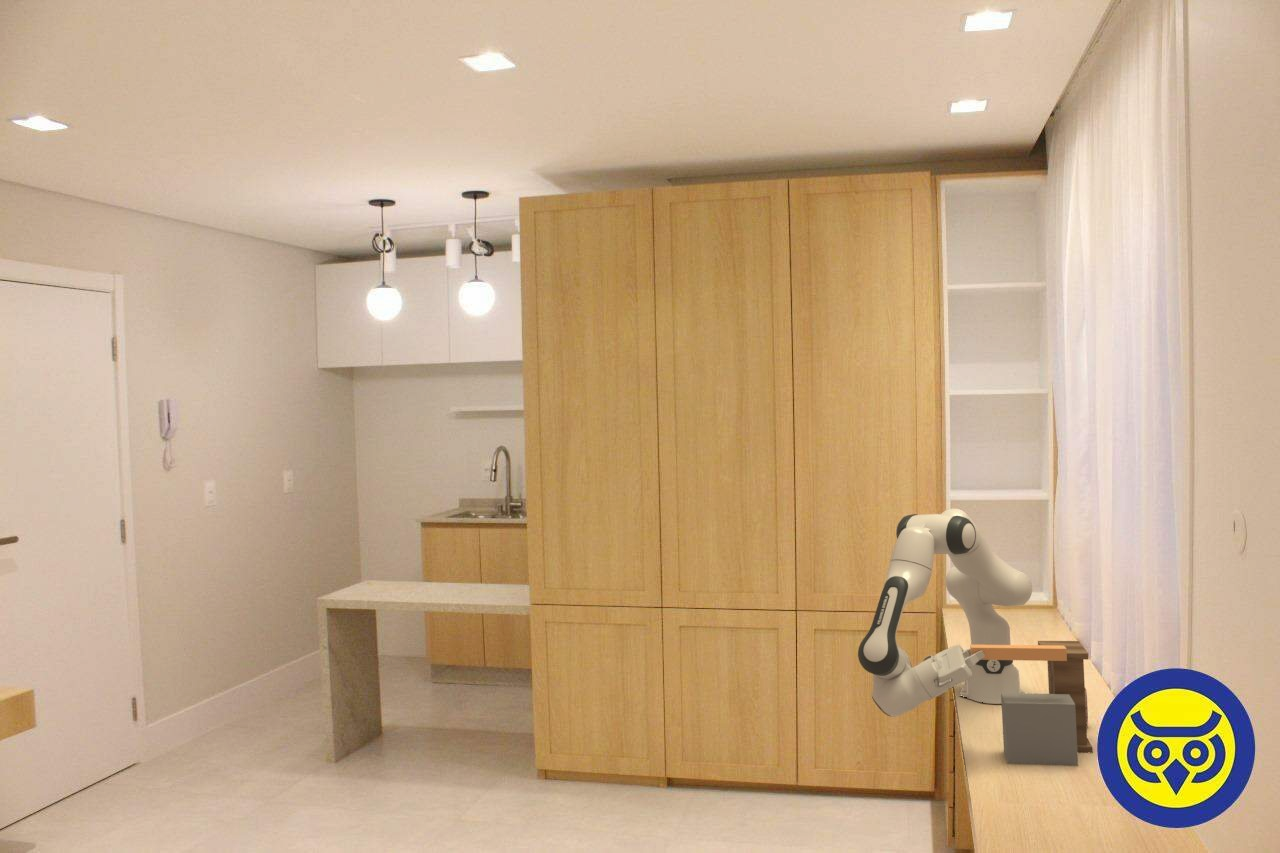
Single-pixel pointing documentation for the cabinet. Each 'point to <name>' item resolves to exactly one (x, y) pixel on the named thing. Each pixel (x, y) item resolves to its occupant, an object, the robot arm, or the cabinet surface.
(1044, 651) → the orange square-ended block
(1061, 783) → the cabinet surface
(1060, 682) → the walnut stand
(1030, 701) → the grey step block
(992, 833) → the cabinet surface
